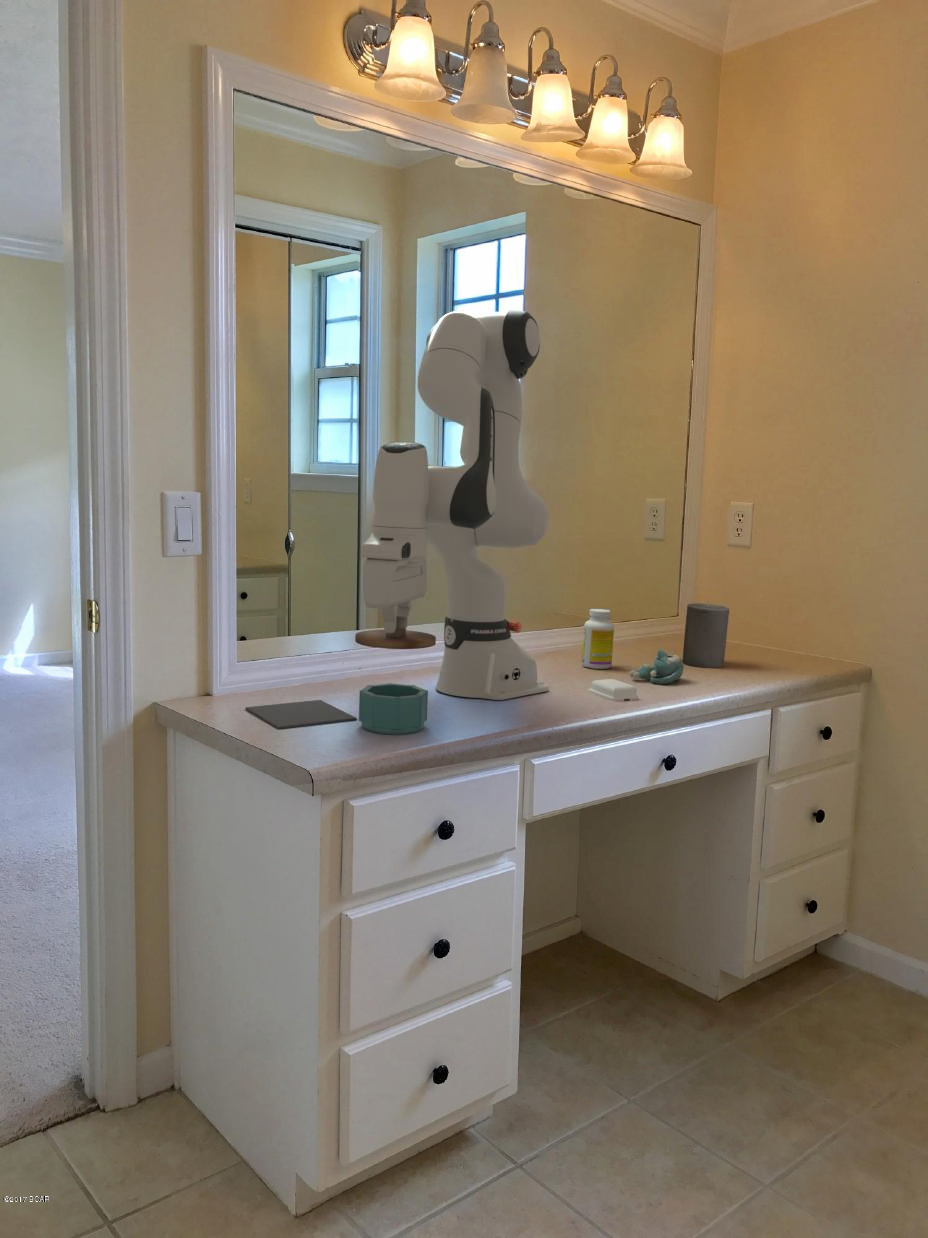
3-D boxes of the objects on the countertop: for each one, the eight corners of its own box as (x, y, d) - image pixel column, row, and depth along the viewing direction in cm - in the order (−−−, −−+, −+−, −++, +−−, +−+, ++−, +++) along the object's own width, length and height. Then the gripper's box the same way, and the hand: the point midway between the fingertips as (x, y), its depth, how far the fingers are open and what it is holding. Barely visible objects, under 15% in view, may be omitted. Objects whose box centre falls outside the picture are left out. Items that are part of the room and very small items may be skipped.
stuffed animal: (618, 651, 210) (667, 640, 213) (621, 683, 211) (670, 672, 214) (642, 661, 200) (693, 649, 203) (645, 694, 201) (696, 682, 204)
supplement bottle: (617, 668, 218) (621, 611, 216) (595, 670, 215) (599, 613, 213) (597, 663, 224) (601, 607, 222) (575, 665, 220) (579, 608, 218)
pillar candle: (673, 662, 229) (679, 599, 226) (697, 658, 235) (703, 596, 233) (708, 670, 222) (715, 605, 219) (732, 665, 228) (738, 602, 226)
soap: (641, 701, 189) (642, 686, 188) (612, 703, 186) (613, 688, 185) (613, 691, 197) (614, 676, 196) (585, 693, 193) (586, 678, 193)
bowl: (404, 715, 167) (405, 681, 167) (436, 730, 159) (438, 694, 158) (349, 722, 162) (350, 686, 161) (380, 737, 153) (381, 700, 152)
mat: (320, 702, 175) (320, 699, 175) (356, 720, 163) (356, 717, 163) (245, 709, 167) (245, 707, 167) (278, 729, 155) (278, 726, 155)
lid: (409, 633, 167) (410, 610, 166) (451, 646, 156) (452, 621, 156) (341, 637, 160) (341, 613, 159) (380, 651, 149) (380, 625, 149)
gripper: (402, 540, 167) (399, 620, 169) (356, 546, 147) (353, 637, 149) (437, 542, 165) (434, 623, 167) (396, 549, 145) (392, 641, 147)
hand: (395, 630), depth 158 cm, fingers closed on lid, 3 cm apart
